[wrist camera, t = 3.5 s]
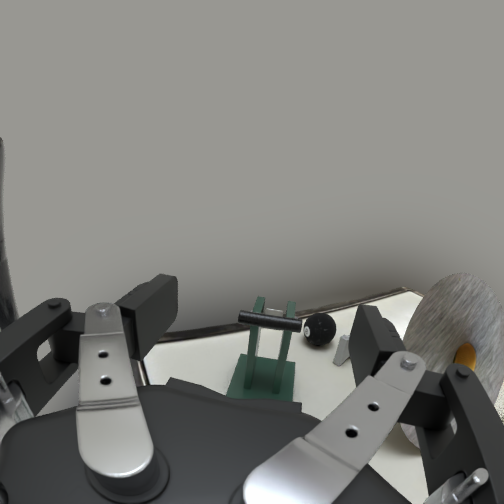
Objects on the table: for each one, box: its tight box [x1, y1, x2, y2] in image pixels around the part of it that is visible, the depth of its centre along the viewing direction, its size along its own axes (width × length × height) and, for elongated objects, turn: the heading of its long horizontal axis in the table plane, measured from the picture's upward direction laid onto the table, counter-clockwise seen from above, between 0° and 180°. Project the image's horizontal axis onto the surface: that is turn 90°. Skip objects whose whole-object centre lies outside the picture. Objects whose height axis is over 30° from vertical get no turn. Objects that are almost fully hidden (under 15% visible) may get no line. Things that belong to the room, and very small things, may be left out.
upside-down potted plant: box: [400, 273, 504, 448], centre depth 33 cm, size 25×18×25 cm
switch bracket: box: [226, 297, 298, 402], centre depth 37 cm, size 12×9×14 cm
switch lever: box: [238, 309, 302, 333], centre depth 30 cm, size 13×6×2 cm, turn 170°
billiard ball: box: [304, 313, 336, 345], centre depth 51 cm, size 6×6×6 cm
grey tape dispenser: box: [333, 335, 350, 366], centre depth 47 cm, size 6×1×10 cm
